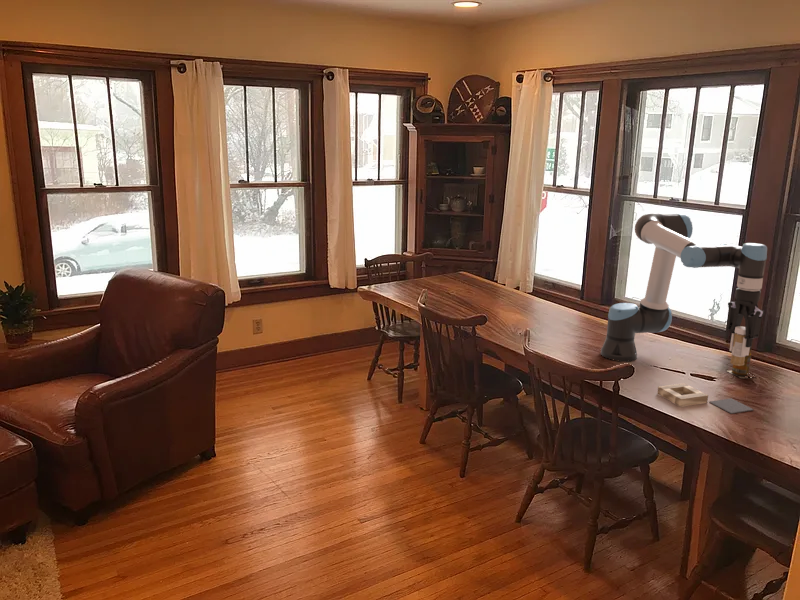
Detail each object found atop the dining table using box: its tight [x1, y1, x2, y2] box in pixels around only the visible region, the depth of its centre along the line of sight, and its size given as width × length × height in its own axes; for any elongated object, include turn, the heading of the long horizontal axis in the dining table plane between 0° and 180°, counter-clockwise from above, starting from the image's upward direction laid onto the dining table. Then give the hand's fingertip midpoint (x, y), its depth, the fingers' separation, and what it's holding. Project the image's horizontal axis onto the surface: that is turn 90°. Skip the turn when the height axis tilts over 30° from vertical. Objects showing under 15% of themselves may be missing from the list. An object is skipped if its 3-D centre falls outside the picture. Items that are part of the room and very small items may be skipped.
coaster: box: [709, 398, 754, 415], centre depth 223 cm, size 10×10×1 cm
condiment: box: [726, 346, 753, 379], centre depth 253 cm, size 7×8×12 cm
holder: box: [657, 382, 709, 408], centre depth 230 cm, size 12×12×3 cm
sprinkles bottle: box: [729, 325, 746, 366], centre depth 217 cm, size 5×5×14 cm
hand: (738, 352), depth 218 cm, fingers closed on sprinkles bottle, 4 cm apart
